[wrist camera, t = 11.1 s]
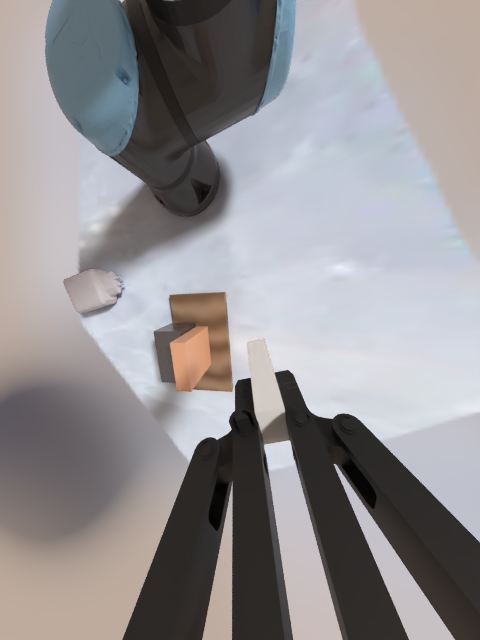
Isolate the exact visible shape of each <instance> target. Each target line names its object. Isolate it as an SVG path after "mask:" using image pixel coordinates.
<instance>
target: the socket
mask: <svg viewBox="0 0 480 640" xmlns="http://www.w3.org/2000/svg"><path fill="white" fill-rule="evenodd" d="M195 327H196V323H195V322H183V323H172V324H169V325H167V326H165V327H163V328H160V329H158V330H156V331H154V337H155V343H156V349H157V354H158V360H159V366H160V372H161V378H162V382H172V383H176V381H175V374H174V367H173V361H172V354H171V347H170V343H171V342H172V341H174V340H175V339H177V338H179V337H180V336H182V335H183V334H185V333H187V332H188V331H190V330H191V329H193V328H195Z"/></svg>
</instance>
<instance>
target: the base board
mask: <svg viewBox="0 0 480 640" xmlns="http://www.w3.org/2000/svg"><path fill="white" fill-rule="evenodd" d="M170 302H171V309H172V316H173V323H183V322H195V323H196V326H208V334H209V344H210V354H211V365H210V366H209V368H208V369H207V371H206V372H205V373H204V375H203V376H202V377H201V379H200V380H199V382H198V383H197V384H196V386H195V387H194V388H193V389H195V390H212V391H229V392H232V389H233V383H232V370H231V356H230V343H229V330H228V316H227V303H226V292H219V293H198V294H177V295H170Z"/></svg>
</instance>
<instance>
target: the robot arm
mask: <svg viewBox="0 0 480 640" xmlns="http://www.w3.org/2000/svg"><path fill="white" fill-rule="evenodd" d="M295 15H296V0H124V1H123V2H122V3H121V2H120V1H119V0H53V1H52V4H51V7H50V10H49V14H48V19H47V25H46V33H45V38H46V49H45V54H46V64H47V71H48V75H49V79H50V83H51V87H52V90H53V93H54V95H55V98H56V100H57V102H58V104H59V106H60V108H61V110H62V112H63V113H64V115H65V116H66V118H67V119H68V120H69V122H70V123H71V124H72V125H73V126H74V128H75V129H76V130H77V131H78V132H80V133H81V134H82V135H83V136H84V137H85V138H87V139H88V140H89V141H90V142H91V143H92V144H94V145H95V146H96V148H97V149H98V150H99V151H101V152H102V153H104V154H106V155H108V156H109V157H111V158H112V159H113V160H115V161H116V162H118V163H119V164H120V165H122V166H123V167H124V168H126V169H127V170H129V171H130V172H131V173H133V174H134V175H135V176H137V177H138V178H140V179H141V180H142V181H144V182H145V183H146V184H147V185H148V186H149V188H150V189H151V191H152V192H153V194H154V196H155V197H156V199H157V200H158V201H159V202H160V204H161V205H162V206H164V207H165V208H166V209H168V210H169V211H171V212H172V213H174V214H176V215H179V216H193V215H196V214H199V213H200V212H202V211H203V210H205V209H206V208H207V207H208V206H209V205H210V203H211V202H212V200H213V199H214V197H215V194H216V192H217V188H218V184H219V168H218V163H217V160H216V158H215V155H214V153H213V151H212V149H211V147H210V146H209V144H208V143H207V142H206V139H208V138H210V137H212V136H214V135H216V134H217V133H219V132H221V131H223V130H225V129H227V128H229V127H230V126H232V125H234V124H236V123H238V122H240V121H241V120H243V119H245V118H247V117H249V116H252V115H255V114H256V113H258V111H259V110H260V109H261V108H262V107H264V106H265V105H267V104H268V103H270V102H271V101H273V100H274V99H276V98H277V96H278V95H279V94H280V93H281V91H282V89H283V87H284V85H285V82H286V79H287V76H288V73H289V68H290V63H291V57H292V50H293V42H294V31H295ZM247 350H248V358H249V367H250V375H251V378H247V379H242V380H238V381H237V384H236V386H235V411H234V412H233V413H232V415H231V416H230V419H229V423H230V426H231V428H232V430H231V431H230V432H229V433H228V434H227V435H225V436H223V437H222V438H220V439H218V440H216V439H215V438H212V437H210V438H206V439H204V440H202V441H201V442H200V443H199V444H198V445H197V447H196V449H195V451H194V454H193V456H192V459H191V462H190V464H189V467H188V469H187V472H186V475H185V477H184V480H183V483H182V485H181V488H180V490H179V493H178V496H177V498H176V501H175V503H174V506H173V509H172V511H171V514H170V517H169V519H168V522H167V524H166V527H165V530H164V532H163V535H162V537H161V540H160V543H159V546H158V548H157V551H156V553H155V556H154V559H153V562H152V564H151V566H150V569H149V571H148V574H147V577H146V579H145V582H144V585H143V587H142V590H141V592H140V595H139V598H138V600H137V603H136V606H135V608H134V611H133V613H132V616H131V619H130V621H129V624H128V627H127V629H126V632H125V634H124V637H123V640H202V637H203V632H204V627H205V622H206V616H207V611H208V606H209V601H210V596H211V590H212V585H213V580H214V575H215V569H216V564H217V559H218V554H219V549H220V543H221V538H222V533H223V528H224V522H225V517H226V512H227V507H228V501H229V496H230V491H231V486H232V481H233V551H232V552H233V553H232V554H233V555H232V558H233V559H232V560H233V561H232V573H233V574H232V586H233V587H232V640H293V636H292V629H291V622H290V615H289V609H288V601H287V595H286V588H285V581H284V574H283V568H282V561H281V554H280V547H279V540H278V533H277V526H276V520H275V513H274V506H273V500H272V492H271V486H270V479H269V472H268V465H267V458H266V454H265V450H264V444H269V443H275V442H281V441H287V440H290V442H291V445H292V451H293V456H294V460H295V462H296V466H297V470H298V474H299V477H300V481H301V485H302V488H303V492H304V496H305V500H306V504H307V507H308V511H309V514H310V519H311V522H312V526H313V530H314V534H315V537H316V541H317V545H318V549H319V552H320V556H321V559H322V563H323V567H324V571H325V575H326V579H327V582H328V586H329V590H330V594H331V597H332V601H333V605H334V609H335V612H336V616H337V620H338V624H339V627H340V631H341V634H342V638H343V640H409V639H408V636H407V634H406V632H405V629H404V627H403V625H402V622H401V620H400V618H399V615H398V613H397V611H396V608H395V606H394V604H393V602H392V599H391V597H390V595H389V592H388V590H387V588H386V585H385V584H384V581H383V578H382V576H381V574H380V571H379V569H378V567H377V564H376V562H375V560H374V557H373V555H372V553H371V550H370V548H369V546H368V543H367V541H366V539H365V537H364V534H363V532H362V529H361V527H360V525H359V522H358V520H357V518H356V515H355V513H354V511H353V508H352V506H351V504H350V501H349V499H348V497H347V494H346V492H345V490H344V487H343V485H342V483H341V480H340V478H339V476H338V474H337V471H336V469H335V466H334V464H336V465H337V466H338V468H339V469H340V471H341V472H342V474H343V475H344V476H345V478H346V479H347V481H348V482H349V484H350V485H351V487H352V488H353V490H354V491H355V493H356V494H357V496H358V497H359V499H360V500H361V502H362V503H363V504H364V506H365V507H366V509H367V510H368V512H369V513H370V515H371V516H372V518H373V519H374V521H375V522H376V524H377V525H378V526H379V528H380V530H381V531H382V532H383V534H384V535H385V537H386V538H387V540H388V541H389V543H390V544H391V546H392V547H393V549H394V550H395V551H396V553H397V554H398V556H399V557H400V559H401V560H402V562H403V563H404V565H405V566H406V568H407V569H408V571H409V572H410V574H411V575H412V576H413V578H414V580H415V581H416V583H417V584H418V585H419V587H420V588H421V590H422V591H423V593H424V594H425V596H426V597H427V599H428V600H429V602H430V603H431V605H432V606H433V608H434V609H435V611H436V612H437V613H438V615H439V616H440V618H441V619H442V621H443V622H444V624H445V625H446V627H447V628H448V630H449V631H450V632H451V634H452V635H453V637H454V639H455V640H480V542H479V541H478V540H477V539H476V538H475V537H474V536H473V535H472V534H471V533H470V532H469V531H468V530H467V529H466V528H465V527H464V526H463V525H462V524H461V523H460V522H459V521H458V520H457V519H456V518H455V517H454V516H453V515H452V514H451V513H450V512H449V511H448V510H447V509H446V508H445V507H444V506H443V505H442V504H441V503H440V502H439V501H438V500H437V499H436V498H435V497H434V496H433V495H432V493H431V492H429V490H428V489H426V487H425V486H424V485H423V484H422V483H420V481H419V480H418V479H417V478H416V477H415V476H414V475H413V474H412V473H411V472H410V471H409V470H408V469H407V468H406V467H405V466H404V465H403V464H402V463H401V462H400V461H399V460H398V459H397V458H396V457H395V456H394V455H393V454H392V453H391V452H390V451H389V450H388V449H387V448H386V447H385V446H384V445H383V444H382V443H381V442H380V441H379V440H378V439H377V438H376V437H375V436H374V434H373V433H372V432H371V431H370V430H369V429H368V428H367V427H366V426H365V425H364V424H363V423H362V422H361V421H360V420H358V419H357V418H356V417H354V416H352V415H349V414H338V415H336V416H335V417H334V418H333V419H328V418H322V417H318V416H316V415H314V414H313V413H311V412H310V411H309V410H308V408H307V406H306V404H305V401H304V399H303V397H302V394H301V392H300V390H299V387H298V385H297V382H296V380H295V378H294V375H293V374H292V373H291V372H290V371H289V370H286V371H281V372H276V373H274V370H273V366H272V363H271V359H270V356H269V353H268V349H267V346H266V342H265V339H259V340H254V341H250V342H247Z"/></svg>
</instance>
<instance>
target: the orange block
mask: <svg viewBox="0 0 480 640" xmlns="http://www.w3.org/2000/svg"><path fill="white" fill-rule="evenodd" d="M170 347H171V354H172V361H173V367H174V374H175V381H176V388H177V391H188V392H191V391H192V390H193V388H194V387H195V386H196V384H197V383H198V382H199V380H200V379H201V377H202V376H203V375H204V373H205V372H206V371H207V369H208V368H209V366H210V365H211V354H210V344H209V334H208V326H196V327H195V328H193V329H191V330H190V331H188V332H187V333H185V334H183V335H182V336H180V337H179V338H177V339H175V340H174V341H172V342H171V343H170Z"/></svg>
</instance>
